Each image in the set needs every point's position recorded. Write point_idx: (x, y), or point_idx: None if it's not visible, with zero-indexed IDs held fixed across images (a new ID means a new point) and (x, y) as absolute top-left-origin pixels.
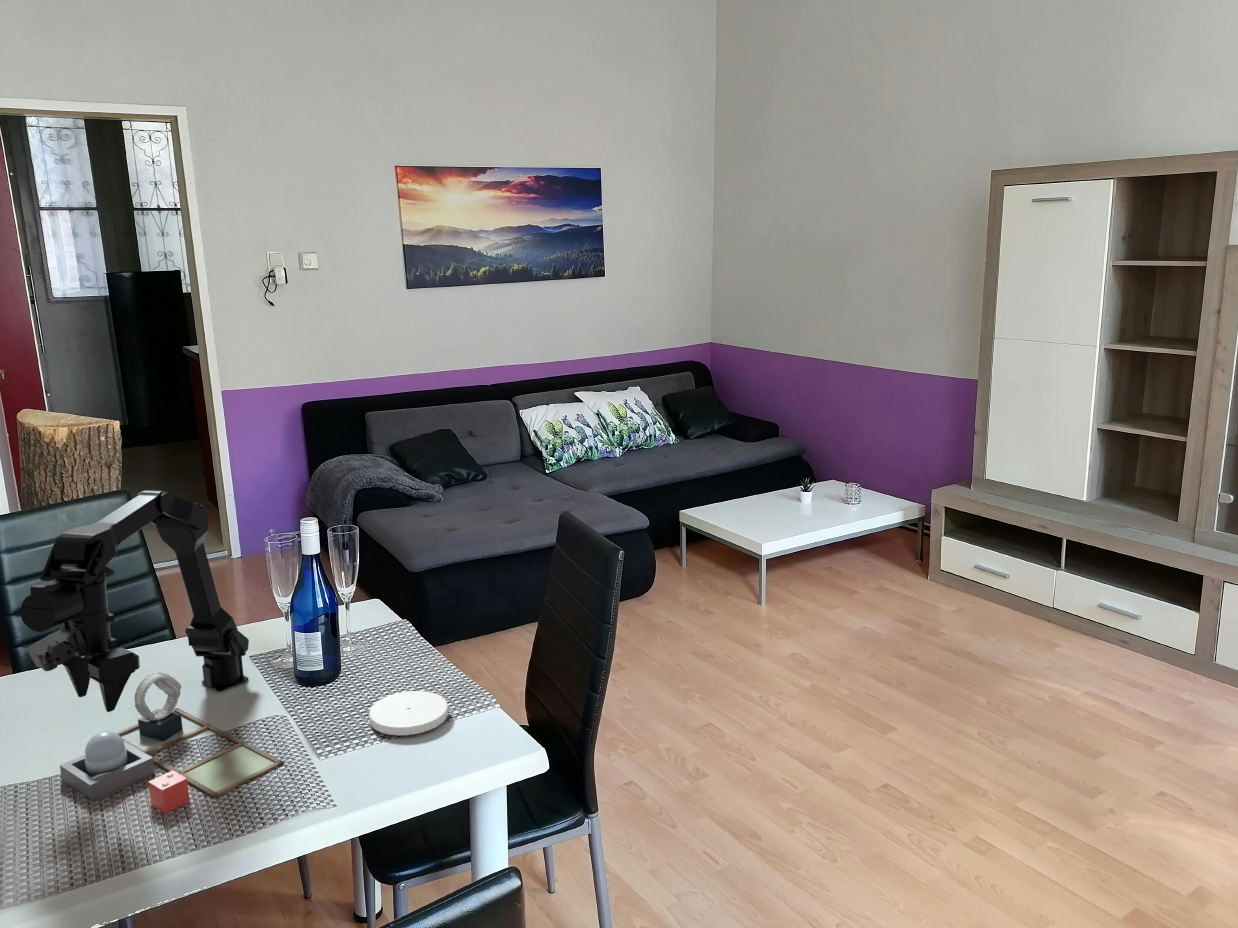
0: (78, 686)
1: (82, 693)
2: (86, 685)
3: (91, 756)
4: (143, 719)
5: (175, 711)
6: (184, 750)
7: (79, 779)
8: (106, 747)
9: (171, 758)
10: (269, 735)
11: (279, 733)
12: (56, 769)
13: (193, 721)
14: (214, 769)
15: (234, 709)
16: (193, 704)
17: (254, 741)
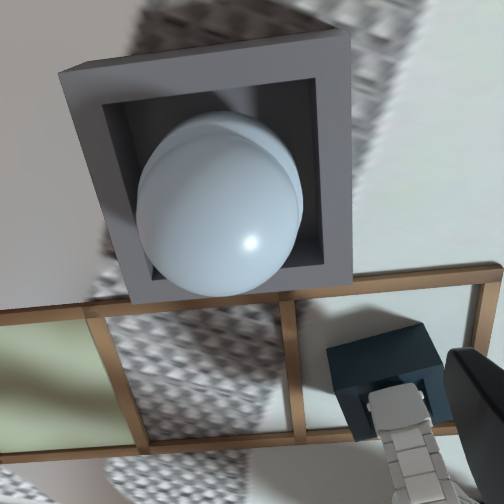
0: (501, 440)
1: (455, 387)
2: (478, 472)
3: (173, 149)
4: (425, 373)
5: None
6: (226, 362)
7: (160, 58)
8: (140, 221)
9: (207, 328)
10: (150, 486)
11: (144, 498)
12: (456, 46)
13: None
14: (58, 370)
15: (339, 491)
16: (457, 455)
17: (145, 462)
